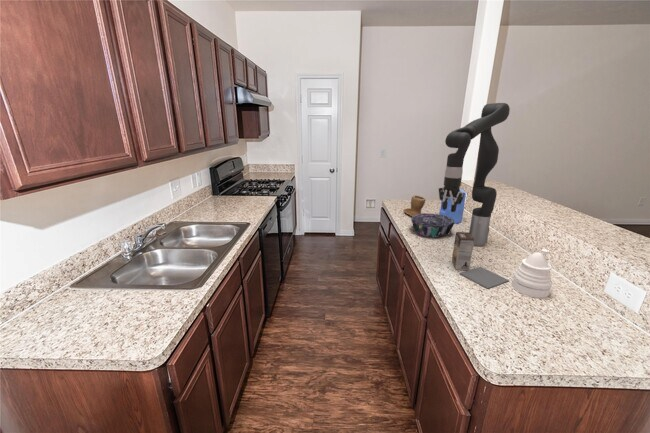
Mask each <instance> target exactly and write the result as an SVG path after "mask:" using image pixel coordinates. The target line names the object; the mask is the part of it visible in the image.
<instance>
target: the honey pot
mask: <svg viewBox="0 0 650 433" xmlns="http://www.w3.org/2000/svg"><path fill="white" fill-rule="evenodd" d="M549 254H550V250H549V249H546V248H542V249H541V251H540V252H539V251H538V252H533V253H531V254H530V255H529V256H527V257H526V258H525V257H524V258H523V259H522V260H521V264H520V265H519V266H518V268H517V269H516V271H515V272H514V273H513V278H512V281H511V287H512V288H513V289H514V290H515V291H516V292H518V293H520V294H522V295H524V296H527V297H531V298H536V299H544V298H548V297H549V296H550V293H551V289H552V284H553V282H552V281H553V280H552V277H551V276H552V274H551V272H550V271H551V270H552V268H553V267H552V265H551V264H550V263H549V262H548V261H547V259H546V257H545V256H547V255H549Z"/></svg>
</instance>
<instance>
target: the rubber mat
mask: <svg viewBox="0 0 650 433" xmlns="http://www.w3.org/2000/svg"><path fill="white" fill-rule="evenodd" d="M459 275H460V276H462V277H464V278H466V279H468V280H469V281H471V282H473V283H475V284H477V285H479V286H480V287H483V288H484V289H486V290H490V289H493V288H495V287H498V286H500V285H504V284H506V283H509V282H510V280H509V279H508V278H506V277H503V276H501V275H499V274H497V273H496V272H493V271H491V270H488V269H486V268H484V267H482V266H477V267H474V268H471V269H469V270H463V271H461V272H459Z"/></svg>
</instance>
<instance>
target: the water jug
mask: <svg viewBox="0 0 650 433" xmlns="http://www.w3.org/2000/svg"><path fill="white" fill-rule="evenodd" d="M460 192H462V193H465V195H464V197H463V200H462V202H461V204H457V206H456V211H455V212H451V206H452V200H451V198H450V197H449V199H448V201H447V202H448V204H447V209H445V210H444V209H443V208H442V205H443V202H442V200H440V201H441V203H440V208H439V213H438V215H443V216H446V217H449V218H451V219H453V220H454V223H455V224H460V223H462V222H463V216H464V211H465V204H466V203H465V201H466V198H467V193H466V191H464V190H462V189H460ZM444 193H445V192H444ZM457 195H458V194H457ZM453 198H455V197H453ZM454 201H455V200H454ZM455 224H454V225H455Z"/></svg>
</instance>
